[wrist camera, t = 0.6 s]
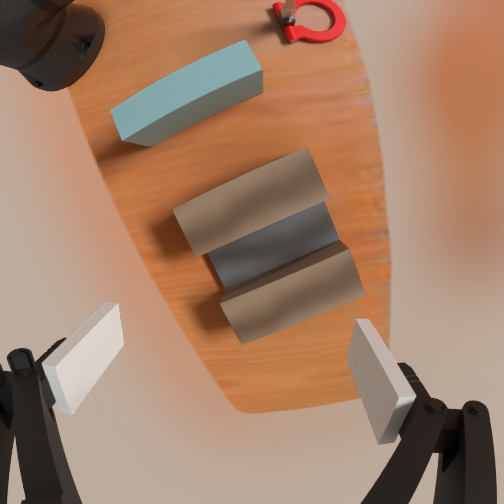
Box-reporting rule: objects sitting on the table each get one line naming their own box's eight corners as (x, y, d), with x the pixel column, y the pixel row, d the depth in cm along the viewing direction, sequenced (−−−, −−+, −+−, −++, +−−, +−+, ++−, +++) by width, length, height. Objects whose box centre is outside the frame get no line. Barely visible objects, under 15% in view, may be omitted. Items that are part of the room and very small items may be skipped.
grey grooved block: (185, 204, 39) (172, 209, 33) (300, 151, 36) (307, 147, 31) (245, 322, 42) (241, 344, 36) (352, 278, 40) (365, 294, 34)
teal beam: (151, 147, 37) (122, 140, 28) (140, 122, 36) (109, 110, 28) (263, 92, 35) (262, 69, 26) (249, 67, 34) (245, 39, 25)
